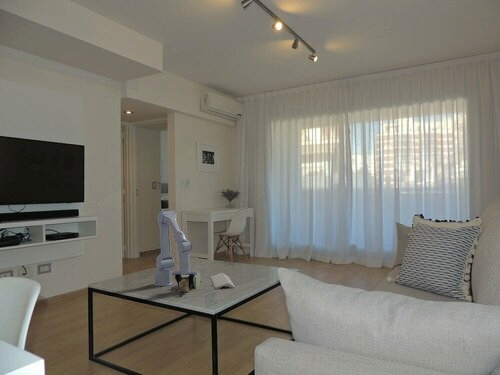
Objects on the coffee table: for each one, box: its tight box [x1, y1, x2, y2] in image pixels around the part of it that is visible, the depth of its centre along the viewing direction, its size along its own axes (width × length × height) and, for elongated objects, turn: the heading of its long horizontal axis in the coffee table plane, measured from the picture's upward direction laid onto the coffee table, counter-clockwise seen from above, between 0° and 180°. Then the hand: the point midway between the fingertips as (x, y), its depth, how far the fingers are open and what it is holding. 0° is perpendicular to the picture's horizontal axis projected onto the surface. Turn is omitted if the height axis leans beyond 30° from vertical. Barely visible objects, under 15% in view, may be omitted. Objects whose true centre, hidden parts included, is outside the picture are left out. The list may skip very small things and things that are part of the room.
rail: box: [175, 292, 187, 298], centre depth 199 cm, size 3×30×1 cm, turn 175°
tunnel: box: [181, 272, 201, 289], centre depth 207 cm, size 10×10×7 cm
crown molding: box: [209, 272, 236, 290], centre depth 215 cm, size 29×12×4 cm, turn 12°
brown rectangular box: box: [178, 278, 194, 293], centre depth 200 cm, size 5×12×5 cm, turn 175°
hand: (184, 288), depth 196 cm, fingers closed on brown rectangular box, 5 cm apart
